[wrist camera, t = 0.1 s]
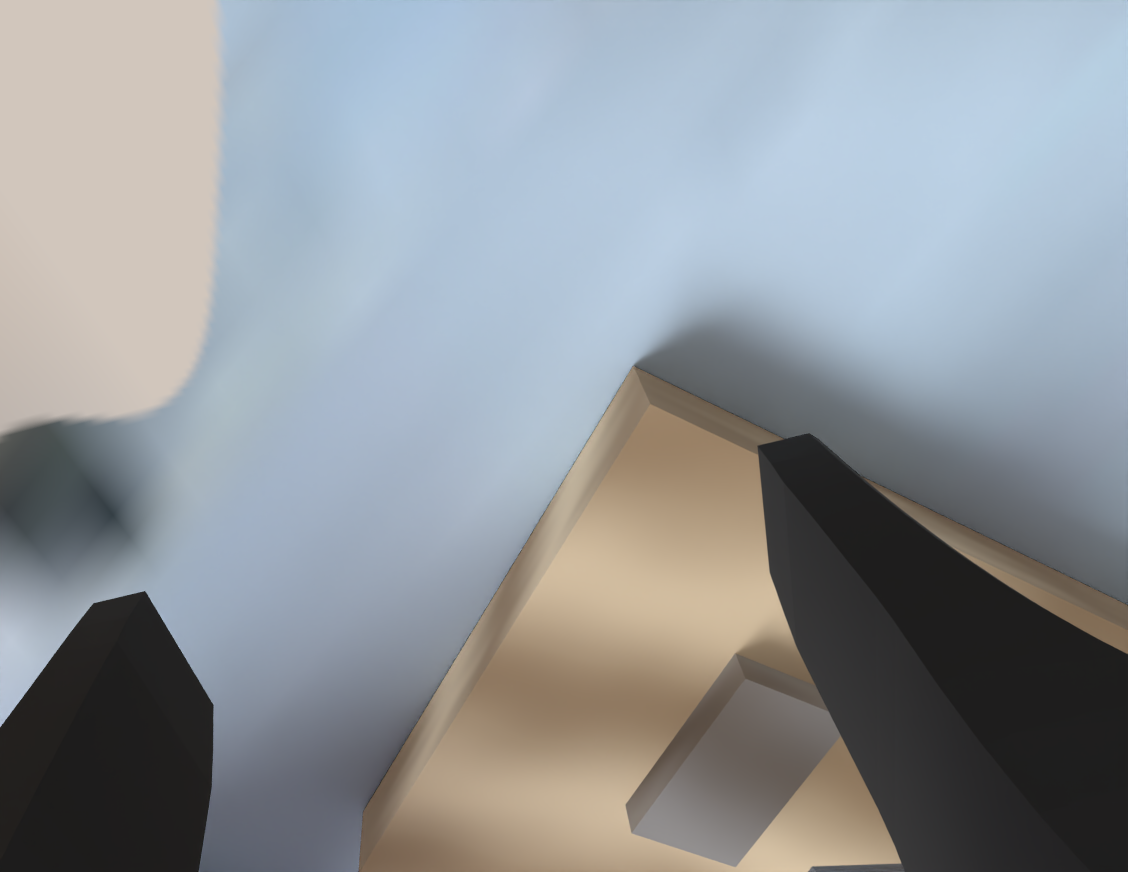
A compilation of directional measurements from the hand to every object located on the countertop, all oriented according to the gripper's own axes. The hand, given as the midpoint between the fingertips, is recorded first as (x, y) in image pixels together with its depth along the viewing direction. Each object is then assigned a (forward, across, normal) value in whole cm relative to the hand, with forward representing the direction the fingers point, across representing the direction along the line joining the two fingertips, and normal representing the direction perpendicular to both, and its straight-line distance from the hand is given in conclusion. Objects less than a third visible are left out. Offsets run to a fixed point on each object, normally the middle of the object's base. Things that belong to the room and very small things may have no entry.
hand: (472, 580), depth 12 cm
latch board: (+8, -7, +16) cm, 20 cm away
